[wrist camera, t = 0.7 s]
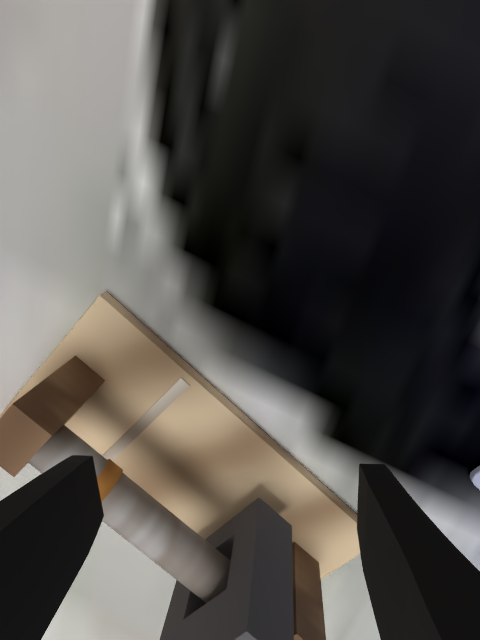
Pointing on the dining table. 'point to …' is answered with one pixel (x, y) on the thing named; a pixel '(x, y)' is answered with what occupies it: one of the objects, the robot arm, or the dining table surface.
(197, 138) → the dining table surface
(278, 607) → the charcoal rectangular prism
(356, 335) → the dining table surface
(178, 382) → the pipe stand
